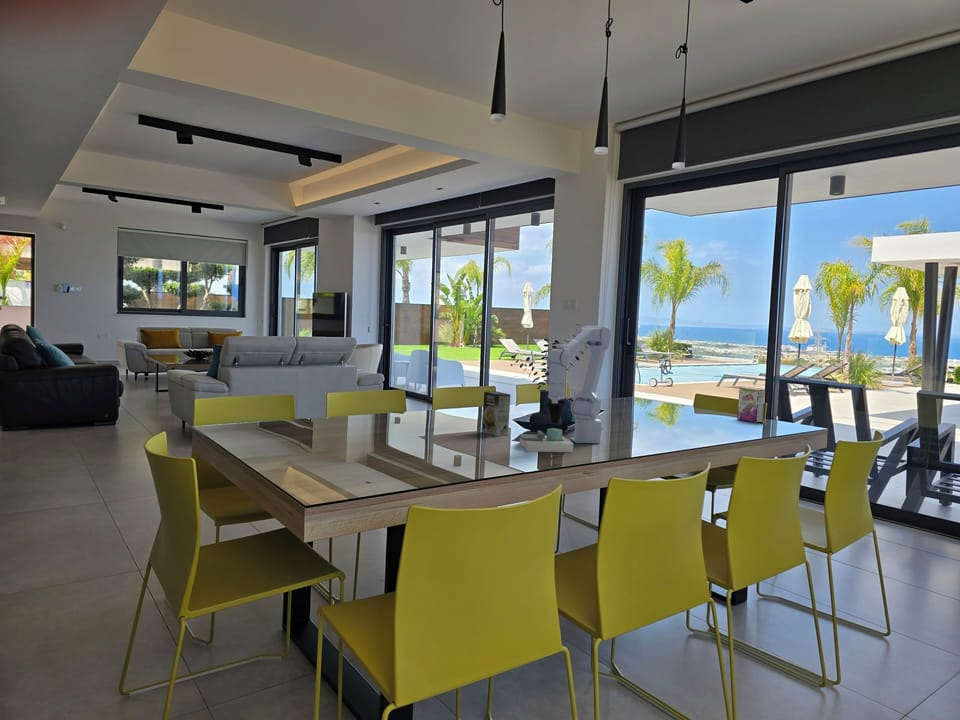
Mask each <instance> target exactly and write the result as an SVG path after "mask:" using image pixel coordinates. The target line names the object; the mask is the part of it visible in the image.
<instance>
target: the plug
mask: <svg viewBox="0 0 960 720" xmlns="http://www.w3.org/2000/svg"><path fill="white" fill-rule="evenodd" d="M546 436H547V439H546V440H548V441H562V436H563V429H560V428H554V427H551V428H547V429H546Z"/></svg>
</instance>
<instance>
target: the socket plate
mask: <svg viewBox="0 0 960 720" xmlns="http://www.w3.org/2000/svg"><path fill="white" fill-rule="evenodd" d="M546 439H547V435H545V439H543V441H526V440H522V439H521V438H520V437H519V444H520V445H521V446H522V447H523V448H524V450H525V451H526V452H535V453H536V452H537V453H539V452H540V453H544V452H545V453H574V443H573V442H572V441H570V440H569V439H568V438H567V437H565V436H564V435H562V441H548V440H546Z"/></svg>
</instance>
